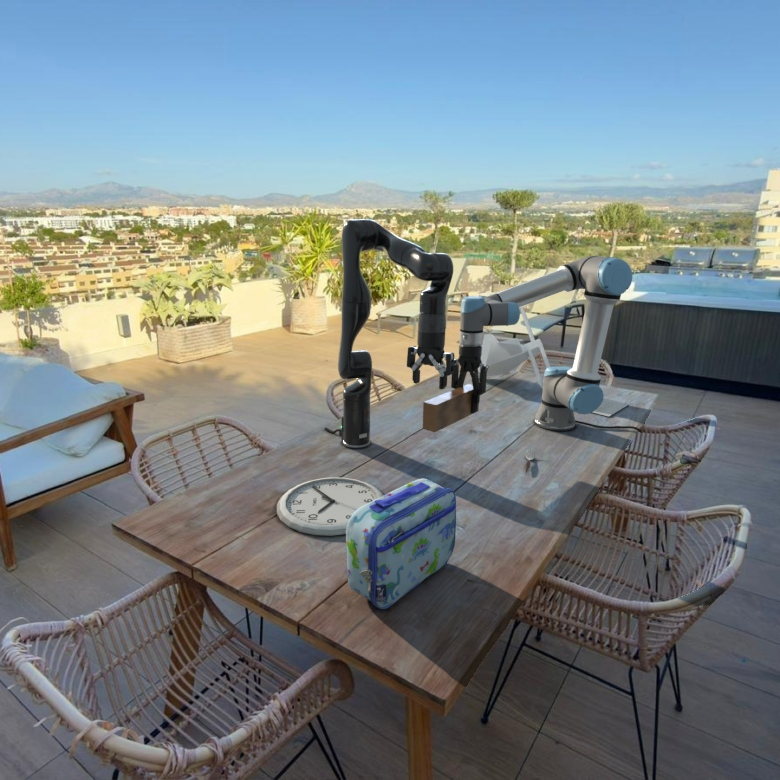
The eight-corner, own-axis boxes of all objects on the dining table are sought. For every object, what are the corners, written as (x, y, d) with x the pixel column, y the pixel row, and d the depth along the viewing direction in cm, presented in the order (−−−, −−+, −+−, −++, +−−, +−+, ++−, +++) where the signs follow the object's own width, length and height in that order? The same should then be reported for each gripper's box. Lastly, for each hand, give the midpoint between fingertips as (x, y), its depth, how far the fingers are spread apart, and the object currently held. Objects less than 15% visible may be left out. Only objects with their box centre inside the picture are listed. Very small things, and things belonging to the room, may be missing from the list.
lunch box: (375, 622, 100) (376, 527, 94) (339, 595, 108) (338, 505, 101) (459, 565, 118) (465, 481, 112) (424, 545, 125) (427, 465, 119)
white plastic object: (490, 419, 265) (470, 397, 240) (471, 347, 287) (451, 319, 262) (561, 395, 253) (548, 369, 228) (536, 321, 275) (521, 290, 250)
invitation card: (608, 416, 214) (573, 407, 224) (608, 416, 214) (573, 408, 224) (628, 404, 229) (594, 396, 238) (628, 405, 229) (594, 397, 238)
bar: (466, 408, 184) (468, 383, 181) (478, 411, 181) (480, 386, 179) (422, 428, 165) (423, 401, 162) (434, 432, 162) (435, 405, 159)
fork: (521, 473, 163) (522, 467, 162) (527, 453, 177) (527, 448, 177) (530, 474, 162) (530, 468, 162) (535, 454, 176) (535, 449, 176)
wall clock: (392, 527, 129) (268, 531, 127) (391, 533, 130) (269, 537, 127) (383, 473, 158) (282, 475, 155) (383, 478, 158) (282, 480, 156)
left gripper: (402, 327, 143) (400, 384, 148) (447, 334, 135) (444, 394, 140) (417, 323, 149) (415, 378, 154) (461, 330, 141) (458, 387, 146)
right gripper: (441, 342, 175) (439, 407, 182) (488, 350, 165) (483, 419, 172) (454, 338, 181) (451, 402, 188) (500, 346, 170) (495, 413, 177)
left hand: (429, 385), depth 147 cm, fingers open, 8 cm apart
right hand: (466, 410), depth 180 cm, fingers closed on bar, 5 cm apart
